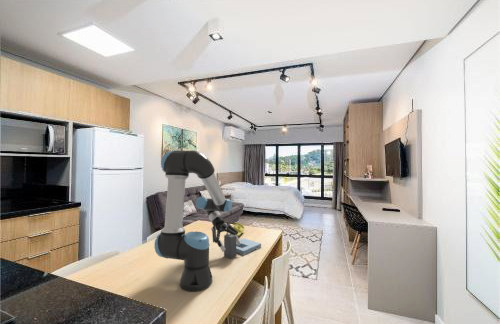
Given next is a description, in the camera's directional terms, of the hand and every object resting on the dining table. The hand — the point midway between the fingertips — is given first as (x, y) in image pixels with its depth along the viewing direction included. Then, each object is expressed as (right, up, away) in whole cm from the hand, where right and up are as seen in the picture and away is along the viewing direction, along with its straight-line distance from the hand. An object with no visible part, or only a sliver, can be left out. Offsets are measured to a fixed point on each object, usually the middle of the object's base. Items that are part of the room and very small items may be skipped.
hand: (232, 247), depth 135 cm
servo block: (-1, -6, +1) cm, 6 cm away
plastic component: (-1, -7, +44) cm, 44 cm away
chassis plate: (+7, -6, +15) cm, 17 cm away
